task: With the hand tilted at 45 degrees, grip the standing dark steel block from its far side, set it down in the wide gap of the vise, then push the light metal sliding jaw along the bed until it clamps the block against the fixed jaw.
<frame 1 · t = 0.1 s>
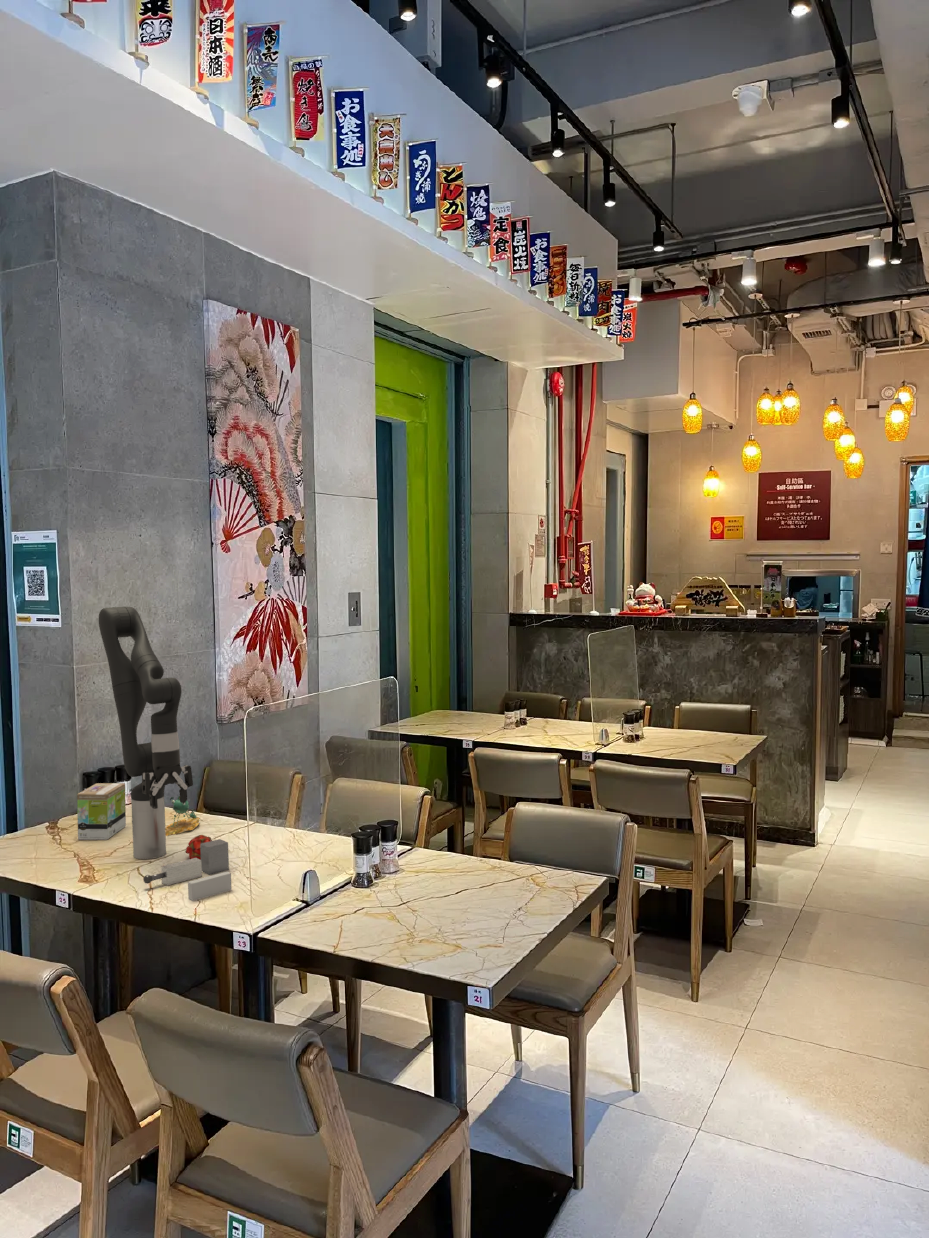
hand: (169, 805, 267), 17 cm above the table, fingers open, 8 cm apart
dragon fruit: (204, 863, 270), on the table
tea box: (102, 833, 300), on the table
steel block: (215, 875, 259), on the table
frog figurine: (184, 829, 304), on the table
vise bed: (191, 889, 248), on the table
sliding jaw: (171, 873, 250), point 4 cm above the table, slide at 0.0 cm
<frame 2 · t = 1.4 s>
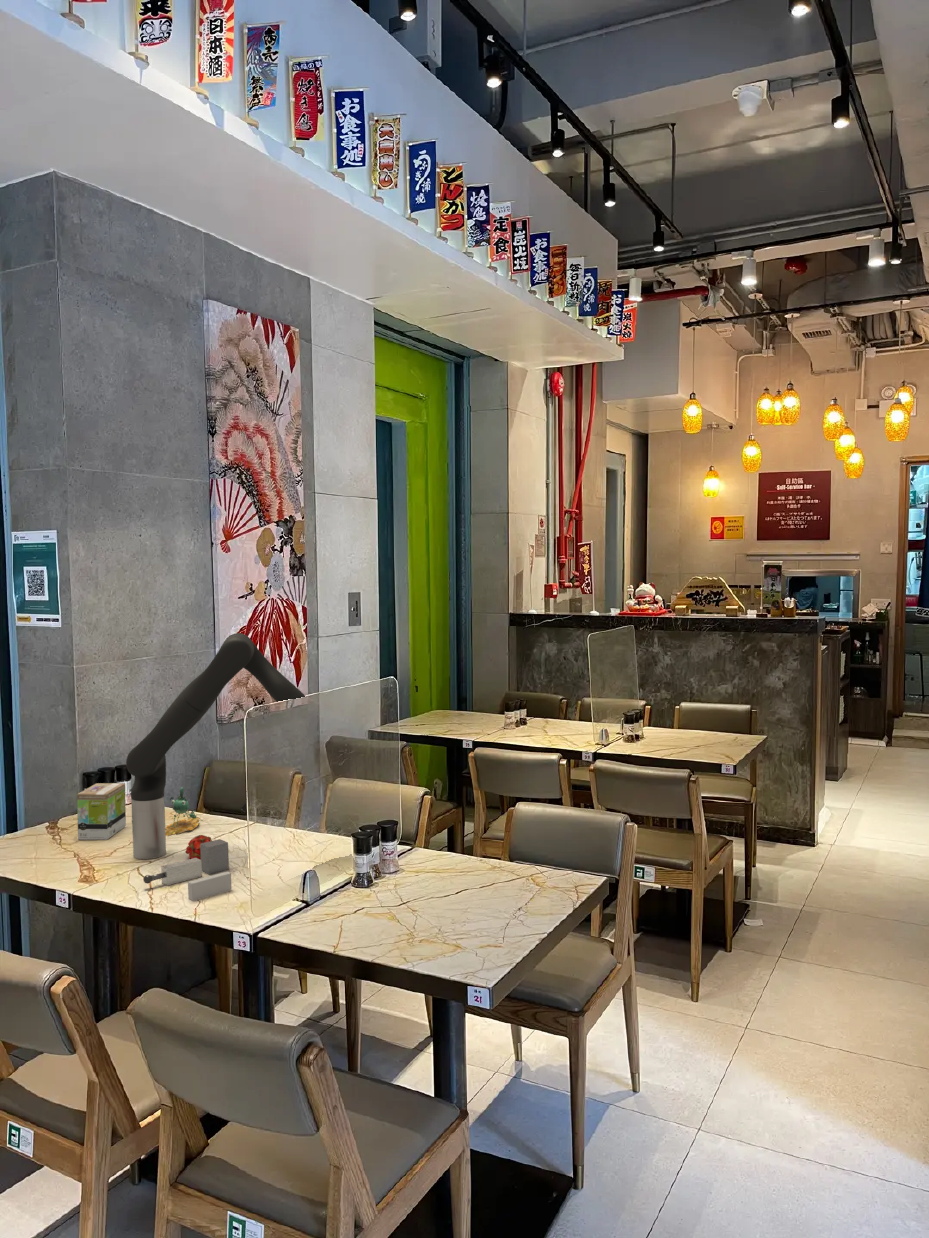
hand: (250, 813, 266), 15 cm above the table, fingers open, 8 cm apart
nothing on the table moved.
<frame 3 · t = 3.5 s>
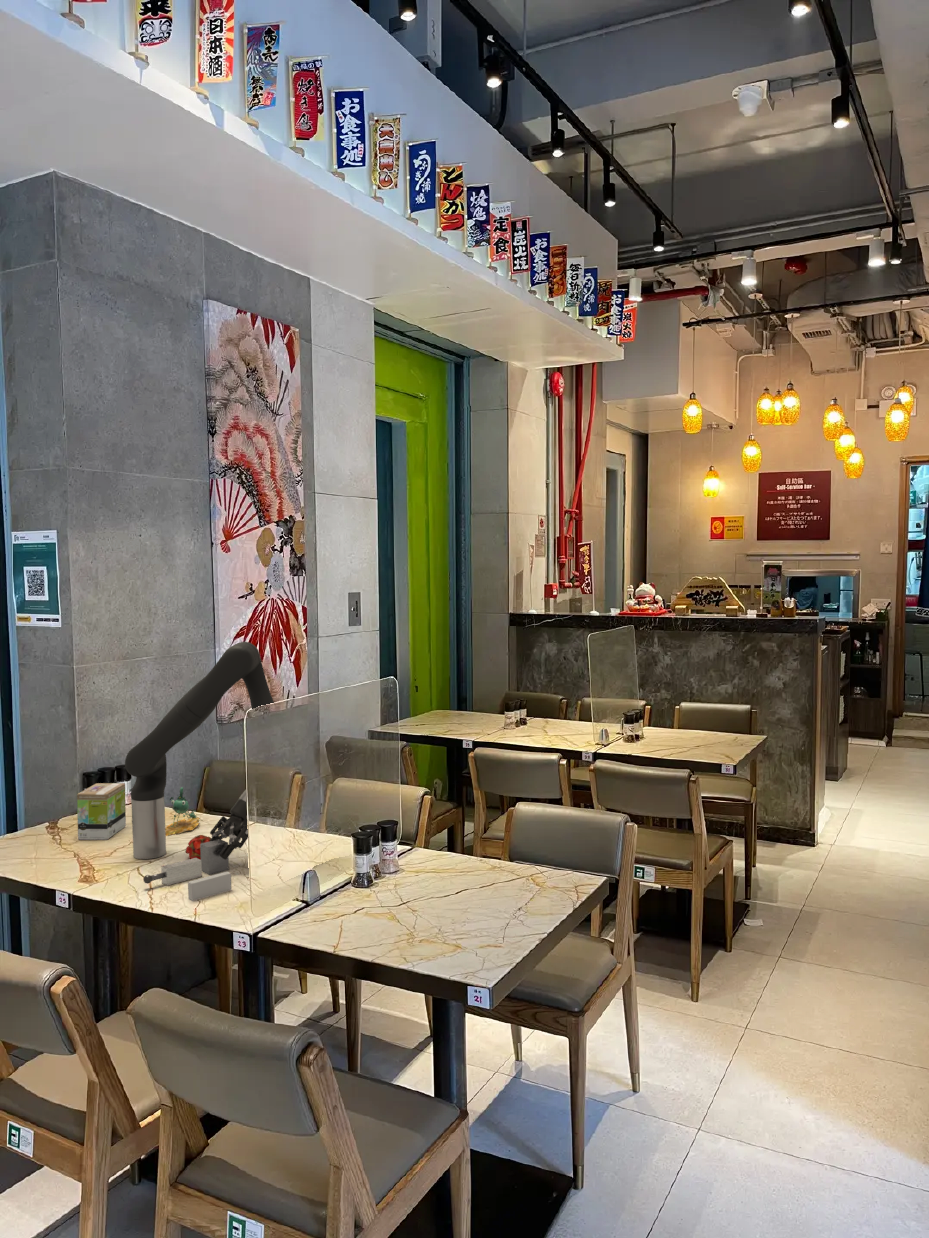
hand: (214, 854, 259), 6 cm above the table, fingers open, 8 cm apart
nothing on the table moved.
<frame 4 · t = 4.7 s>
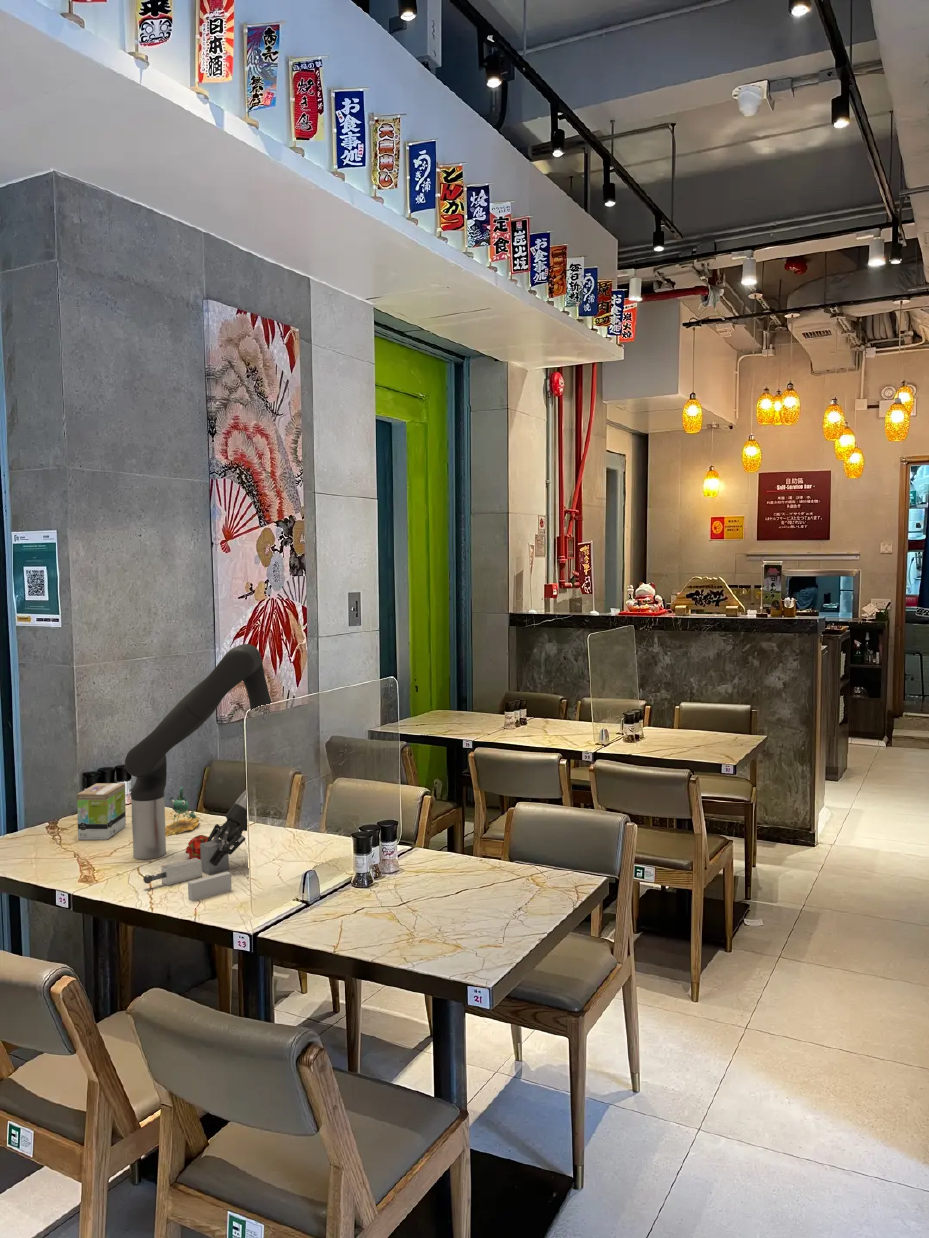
hand: (208, 861, 258), 4 cm above the table, fingers closed on steel block, 4 cm apart
steel block: (215, 874, 259), on the table, touching gripper
everything else where it was.
when the fingers open (6 cm above the table, at t = 10.2 s): steel block stays where it is, resting on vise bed.
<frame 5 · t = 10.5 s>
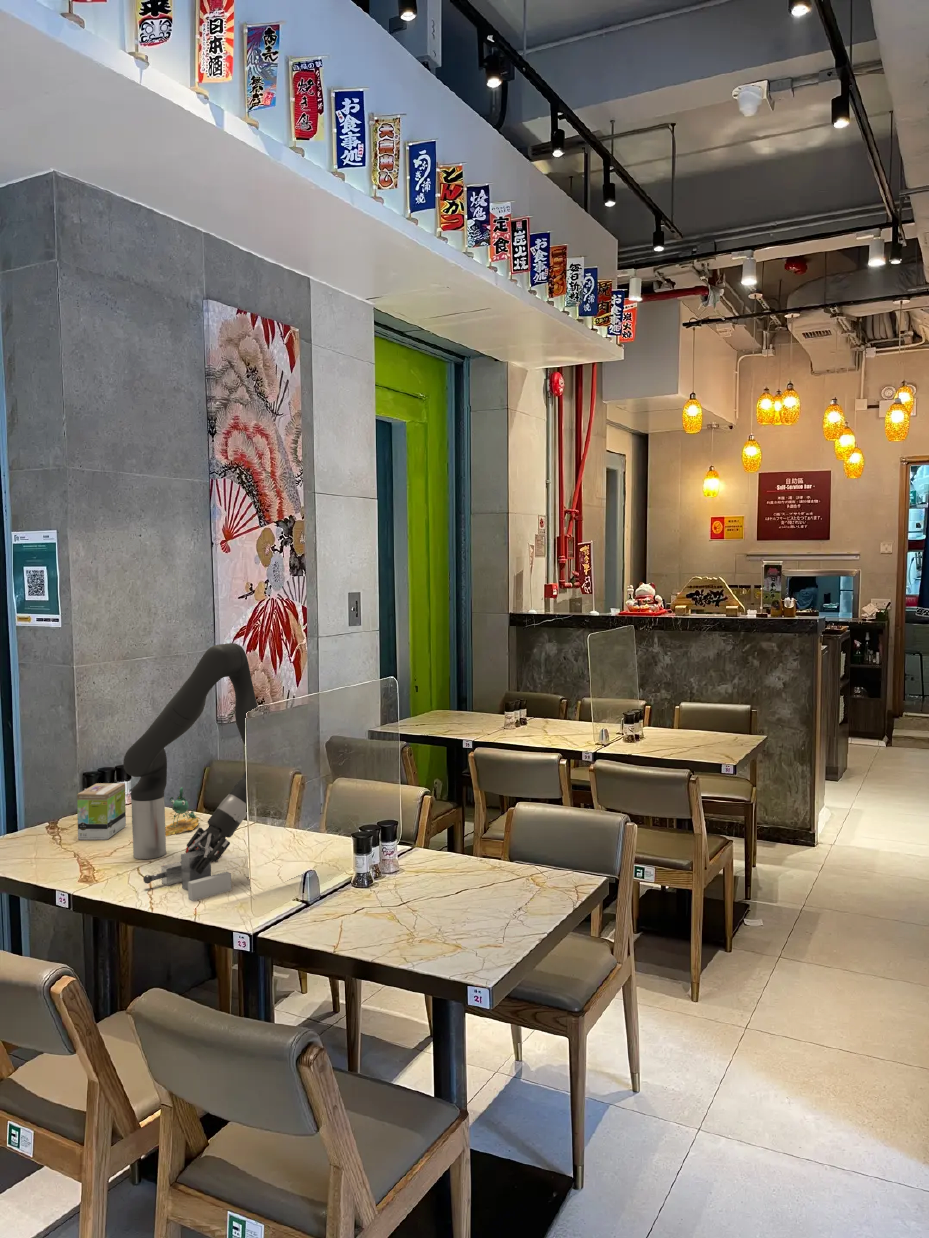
hand: (190, 868, 245), 7 cm above the table, fingers open, 7 cm apart
steel block: (196, 887, 246), point 1 cm above the table, touching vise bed
everything else where it was.
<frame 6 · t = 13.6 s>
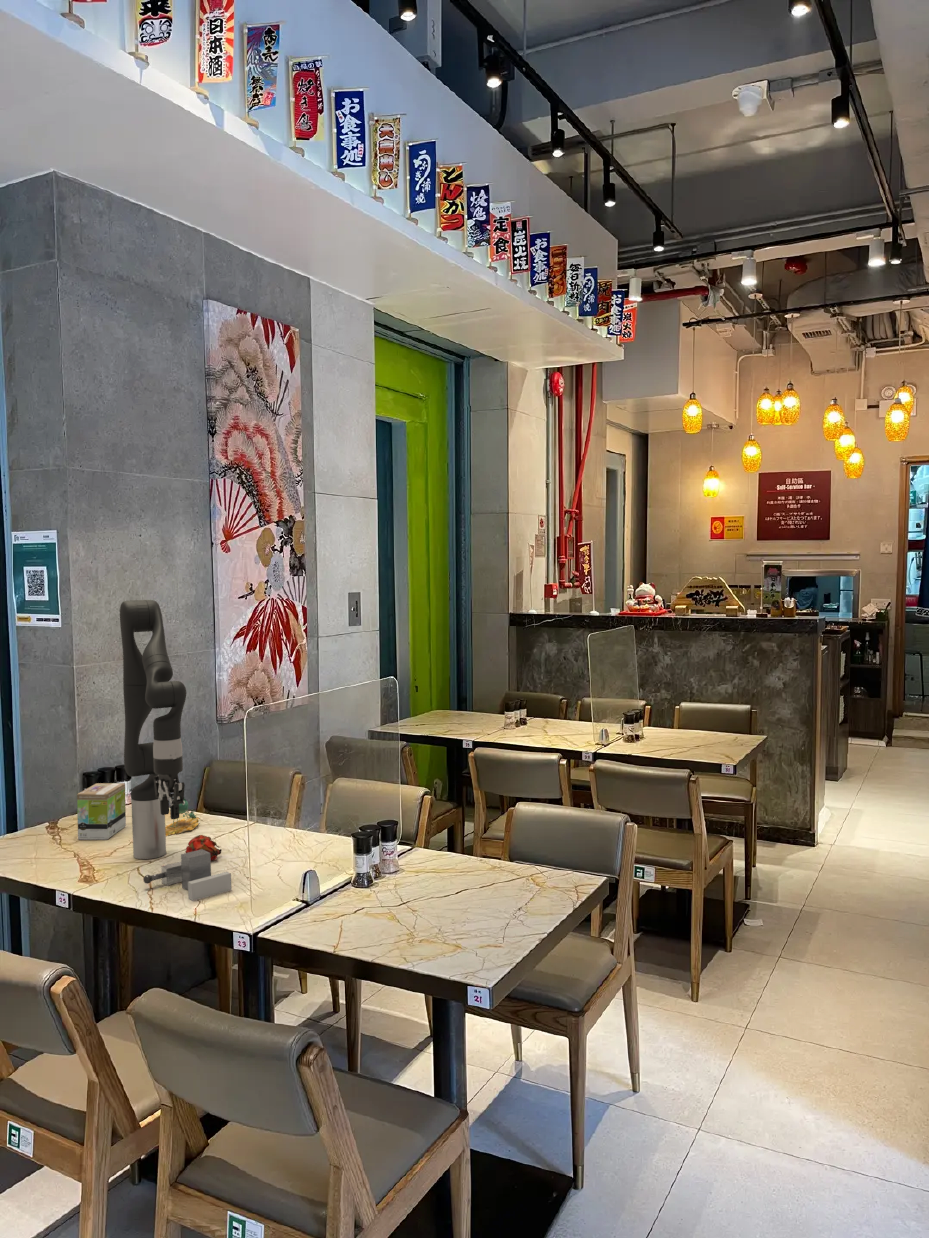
hand: (169, 816, 255), 17 cm above the table, fingers open, 5 cm apart
nothing on the table moved.
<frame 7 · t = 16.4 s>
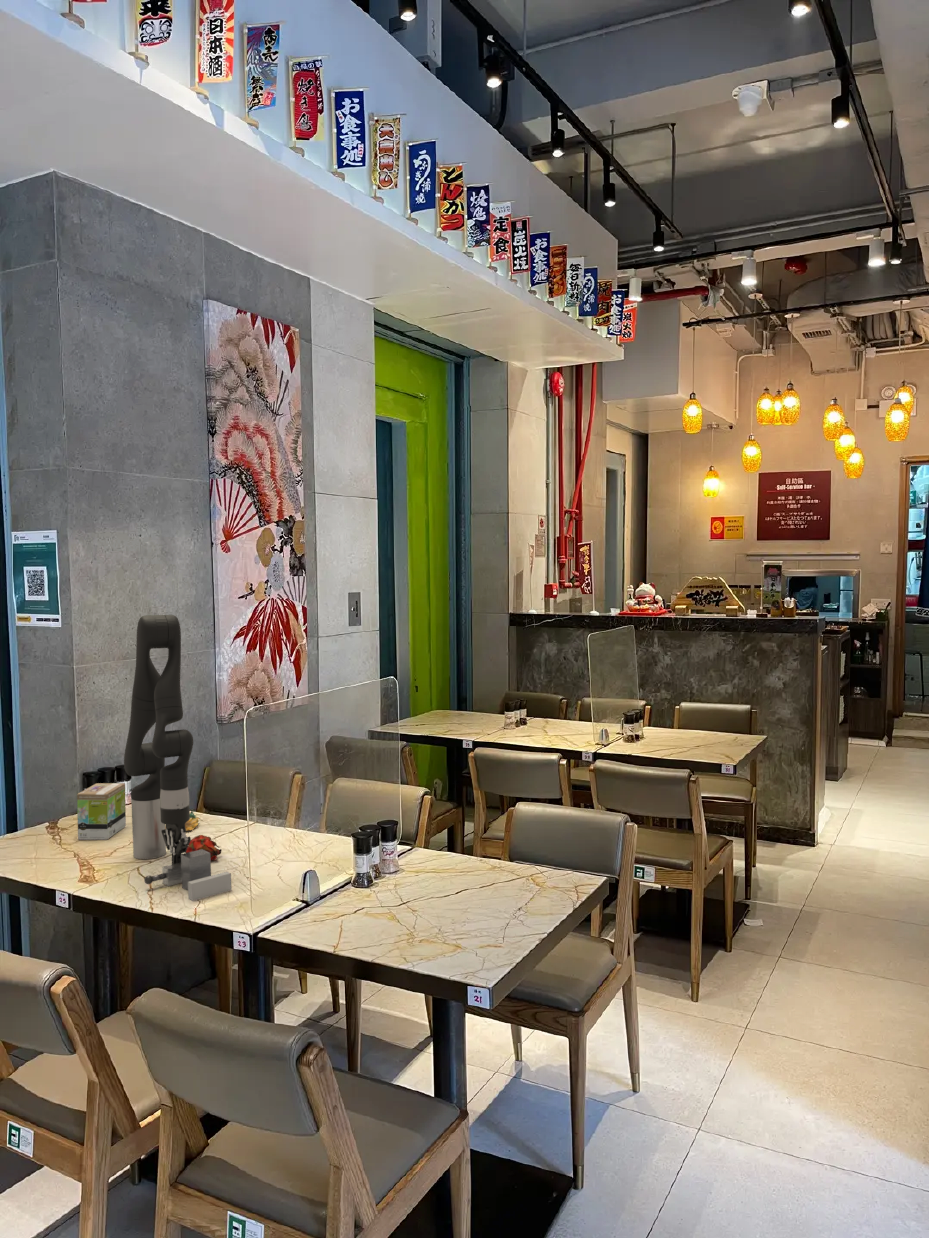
hand: (177, 867, 254), 4 cm above the table, fingers closed
sliding jaw: (173, 874, 249), point 4 cm above the table, slide at 0.6 cm, touching gripper
everything else where it was.
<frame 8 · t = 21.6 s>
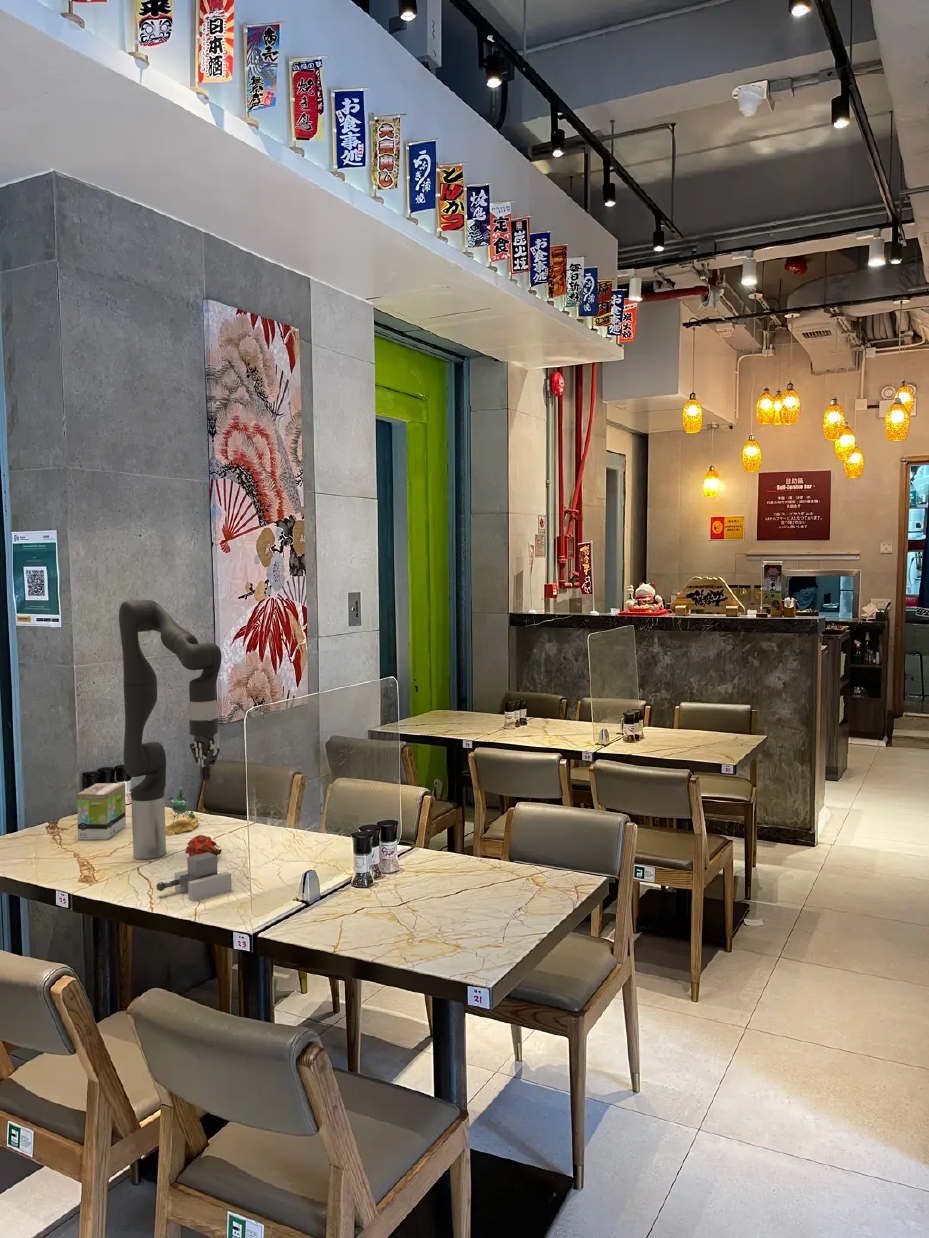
hand: (205, 779, 256), 27 cm above the table, fingers closed
steel block: (203, 890, 244), point 1 cm above the table, touching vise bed
sliding jaw: (185, 880, 244), point 4 cm above the table, slide at 7.7 cm
everything else where it was.
at the end: steel block 0.5 cm from the target spot on the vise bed, point 1.2 cm above the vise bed's base; sliding jaw slide at 7.7 cm; steel block tilted 0° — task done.
